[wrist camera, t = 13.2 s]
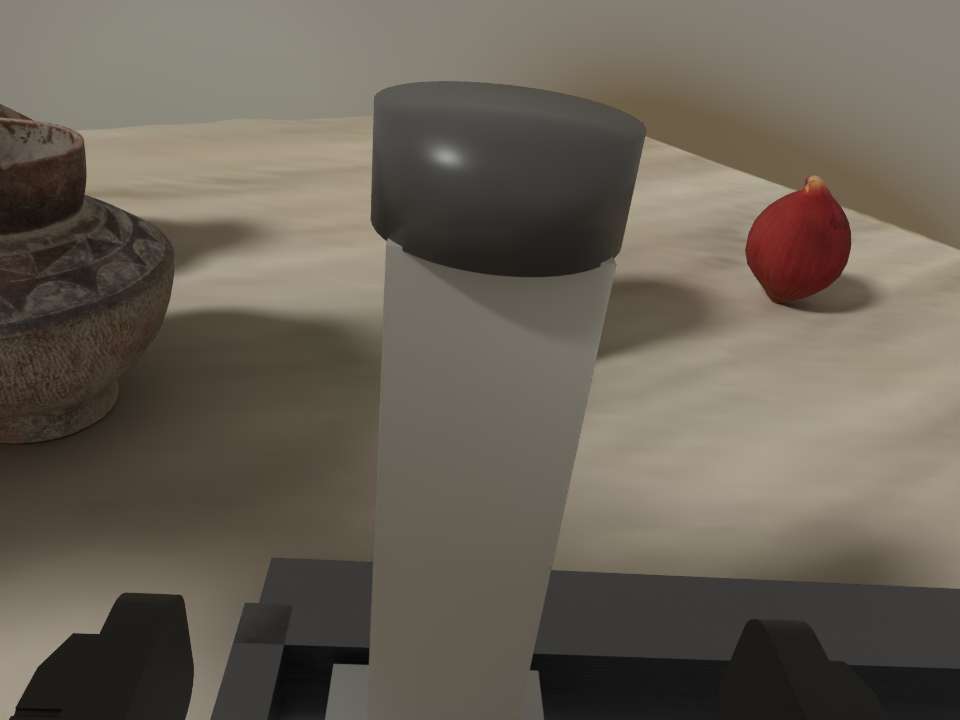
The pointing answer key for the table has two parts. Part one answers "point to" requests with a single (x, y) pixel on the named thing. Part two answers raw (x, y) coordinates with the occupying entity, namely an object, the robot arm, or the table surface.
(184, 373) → the table surface
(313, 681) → the fader track
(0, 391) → the pottery
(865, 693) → the robot arm
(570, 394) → the fader tab
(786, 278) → the onion
